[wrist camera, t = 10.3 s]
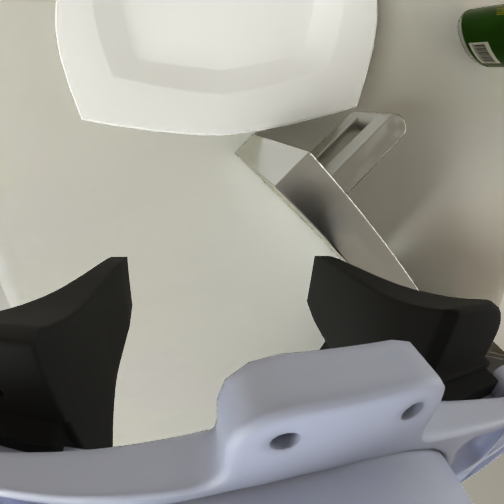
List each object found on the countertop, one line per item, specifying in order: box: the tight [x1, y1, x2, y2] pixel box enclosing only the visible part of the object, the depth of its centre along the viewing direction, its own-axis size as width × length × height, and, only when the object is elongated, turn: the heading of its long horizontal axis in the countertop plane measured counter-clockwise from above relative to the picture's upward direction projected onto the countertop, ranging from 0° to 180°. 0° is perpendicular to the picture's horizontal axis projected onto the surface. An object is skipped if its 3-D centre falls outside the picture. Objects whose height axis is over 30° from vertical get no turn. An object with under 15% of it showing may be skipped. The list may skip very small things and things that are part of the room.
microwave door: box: [235, 112, 419, 290], centre depth 16 cm, size 7×13×10 cm, turn 45°
